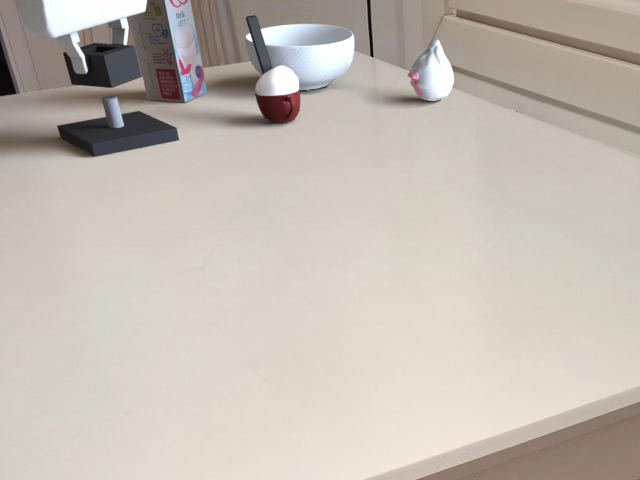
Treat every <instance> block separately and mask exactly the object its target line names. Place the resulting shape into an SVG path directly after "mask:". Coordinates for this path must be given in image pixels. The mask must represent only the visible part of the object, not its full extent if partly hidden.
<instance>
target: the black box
mask: <svg viewBox="0 0 640 480" xmlns="http://www.w3.org/2000/svg"><path fill="white" fill-rule="evenodd" d="M79 47H80V49H81V51H82V52H83V54H84V56H89V59H90V62H91V66H92V71H91V72H88V73H86V74H77V73H76V72H75V71H74V68H73V65H72V61H71V58H70V57H69V56H68V54H67V53H66V52H65V51H64V52H62V54H63V58H64V62H65V66H66V69H67V72H68V76H69V80H70V83H71V85H72V86H82V87H83V86H84V87H94V88H95V87H96V88H108V89H113V88H116V87H118V86H122V85H124V84H127V83H129V82H132V81H135V80H138V79H140V78H143V76H142V72H141V67H140V63H139V59H138V54H137V50H136V45H131V44H130V45H129V44H127V45H117V44H112V43H101V42H92V43H89V44H87V45H83V46H79Z"/></svg>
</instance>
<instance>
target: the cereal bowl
mask: <svg viewBox="0 0 640 480" xmlns="http://www.w3.org/2000/svg"><path fill="white" fill-rule="evenodd" d="M261 32H262V35H263V38H264V42H265V45H266V48H267V52H268V55H269V58H270V62H271V65H272V68H275V67H277V66H286V67H287V68H289V69H291V70H292V71H293V72H294V74H295V75H296V76H297V77H298V82H299V89H301V90H306V89H316V88H320V87H324V86H326V85H328V84H329V85H331V83H332V82H333V81H335V80H337V79H339V78H340V77H342V76H343V75H345V74H346V73H347V71H349V69H350V67H351V66H352V63H353V60H354V56H355V35H354V33H353V31H352V30H350V29H347V28H345V27H341V26H338V25H330V24H322V23H321V24H319V23H297V24H296V23H293V24H282V25H274V26H273V25H272V26H268V27H263V28H261ZM244 41H245V48H246V51H247V56H248V59H249V60H250V63H251V65H252V66H253V68H254V69H255V71H256V72H257V73H258V74H259V75H261V76H262V75H263V74H262V70H261V67H260V64H259V61H258V57H257V54H256V51H255V48H254V44H253V41H252V38H251V35H250V32H249V33H247V34H246V35H245V37H244ZM329 85H328V86H329ZM316 90H317V89H316Z"/></svg>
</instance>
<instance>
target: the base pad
mask: <svg viewBox="0 0 640 480" xmlns="http://www.w3.org/2000/svg"><path fill="white" fill-rule="evenodd" d="M101 102H102V106H103V111H104V114H105V116H103V117H96V118H91V119H86V120H81V121H74V122H70V123H63V124H58V125H56V127H57V131H58V134H59V138H60V139H62V140H64V141H66V142H67V143H70V144H72V145H73V146H75V147H77V148H78V149H80V150H82V151H84V152H86V153H88V154H90V155H91V156H93V157H99V156H104V155H110V154H115V153H119V152H120V153H121V152H124V151H125V152H126V151H129V150H134V149H141V148H145V147H150V146H155V145H159V144H164V143H170V142H174V141H179V140H180V137H179V132H178V127H176V126H174V125H171V124H169V123H168V122H165V121H163V120H160V119H158V118H156V117H154V116H151V115H149V114H147V113H145V112H142V111H141V110H136V111H130V112H124V113H122V111H121V108H120V103H119V100H118V96H116V95H104V96H102V97H101Z"/></svg>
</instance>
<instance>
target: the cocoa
mask: <svg viewBox="0 0 640 480" xmlns="http://www.w3.org/2000/svg"><path fill="white" fill-rule="evenodd" d="M245 22H246V24H247V27H248V32H249V33H250V35H251V38H252V41H253V44H254V48H255V51H256V54H257V57H258V61H259V64H260V67H261V70H262V74H263V75H261V76H260V77H259V78H258V80H257V82H256V84H255V88H254V90H255V93H254V96H255V100H256V104H257V107H258V108H259V111H260V113H261V115H262V116H263V118H264V119H265V120H267V121H268V122H270V123H274V124H275V123H277V124H280V123H281V124H282V123H289V122H291V121H294V120H295V119H296V118H297V117H298V116H299V113H300V111H301V91H299V82H298V77H297V76H296V75H295V74H294V72H293V71H292V70H291V69H289V68H287V67H286V66H277V67H275V68H272V65H271V62H270V58H269V55H268V52H267V48H266V45H265V42H264V38H263V35H262V32H261V29H262V28H261V26H260V22H259V19H258V17H257V15H255V14H254V15H247V16H246V17H245Z"/></svg>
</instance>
